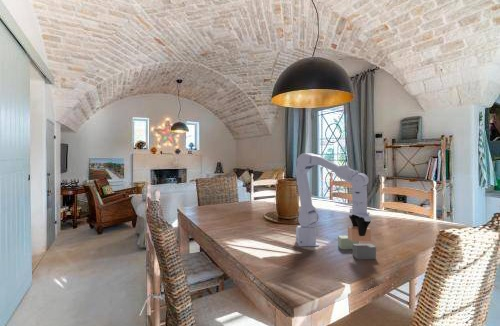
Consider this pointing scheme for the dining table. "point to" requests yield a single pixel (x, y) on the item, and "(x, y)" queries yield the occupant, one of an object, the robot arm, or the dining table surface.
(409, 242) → the dining table surface
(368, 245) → the charcoal block
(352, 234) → the terracotta block
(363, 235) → the robot arm
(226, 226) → the dining table surface
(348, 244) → the sage block
